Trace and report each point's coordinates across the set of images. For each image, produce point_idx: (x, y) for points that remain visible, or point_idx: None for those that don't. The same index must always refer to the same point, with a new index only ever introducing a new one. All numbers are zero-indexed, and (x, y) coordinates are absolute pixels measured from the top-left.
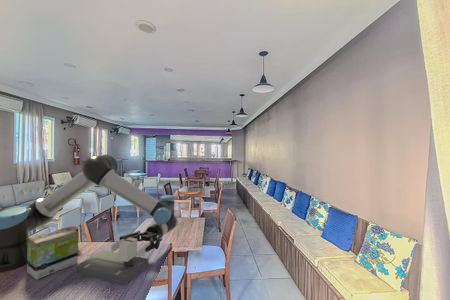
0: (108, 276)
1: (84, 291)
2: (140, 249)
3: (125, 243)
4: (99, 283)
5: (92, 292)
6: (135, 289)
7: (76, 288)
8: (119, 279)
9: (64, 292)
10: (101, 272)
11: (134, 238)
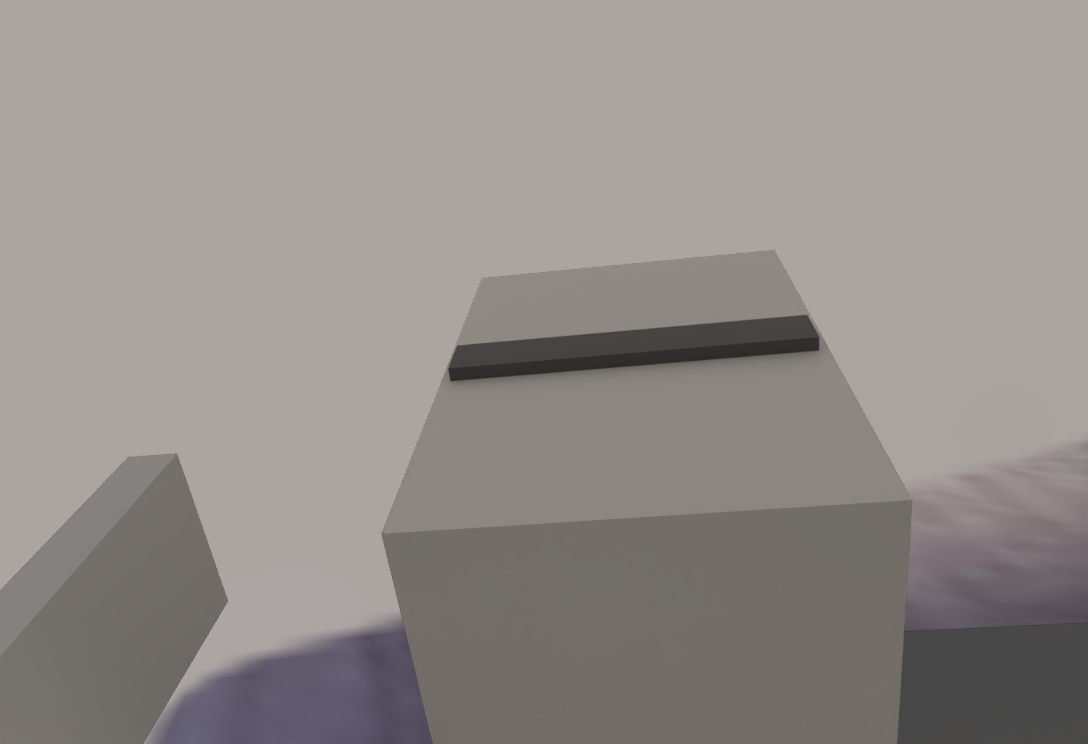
0: None
1: None
2: (125, 478)
3: (579, 284)
4: None
5: None
6: (284, 728)
7: (1028, 537)
8: None
9: (1055, 480)
10: (971, 634)
11: (532, 497)
